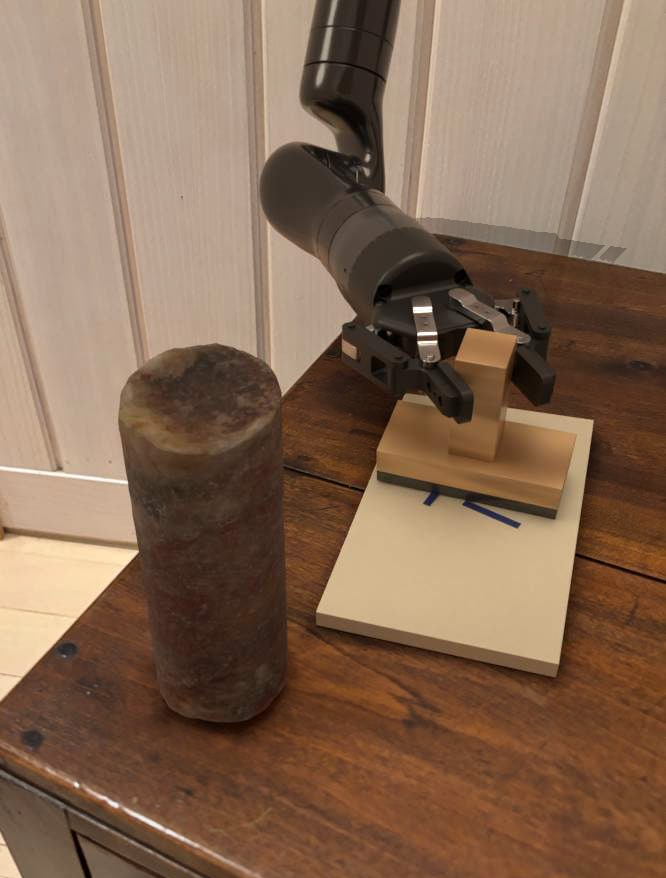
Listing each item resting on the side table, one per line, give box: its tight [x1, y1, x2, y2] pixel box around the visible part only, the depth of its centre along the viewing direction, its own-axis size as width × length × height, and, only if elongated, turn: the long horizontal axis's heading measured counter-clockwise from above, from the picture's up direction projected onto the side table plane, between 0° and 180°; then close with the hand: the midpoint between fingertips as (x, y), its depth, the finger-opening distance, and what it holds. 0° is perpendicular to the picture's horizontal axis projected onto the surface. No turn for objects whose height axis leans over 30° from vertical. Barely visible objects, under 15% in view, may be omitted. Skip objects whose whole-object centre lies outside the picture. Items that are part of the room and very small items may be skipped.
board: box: [315, 393, 595, 678], centre depth 61 cm, size 24×14×1 cm, turn 161°
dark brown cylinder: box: [117, 342, 289, 724], centre depth 46 cm, size 8×7×20 cm
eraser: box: [376, 328, 577, 520], centre depth 58 cm, size 5×12×11 cm, turn 67°
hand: (506, 401), depth 54 cm, fingers closed on eraser, 4 cm apart
